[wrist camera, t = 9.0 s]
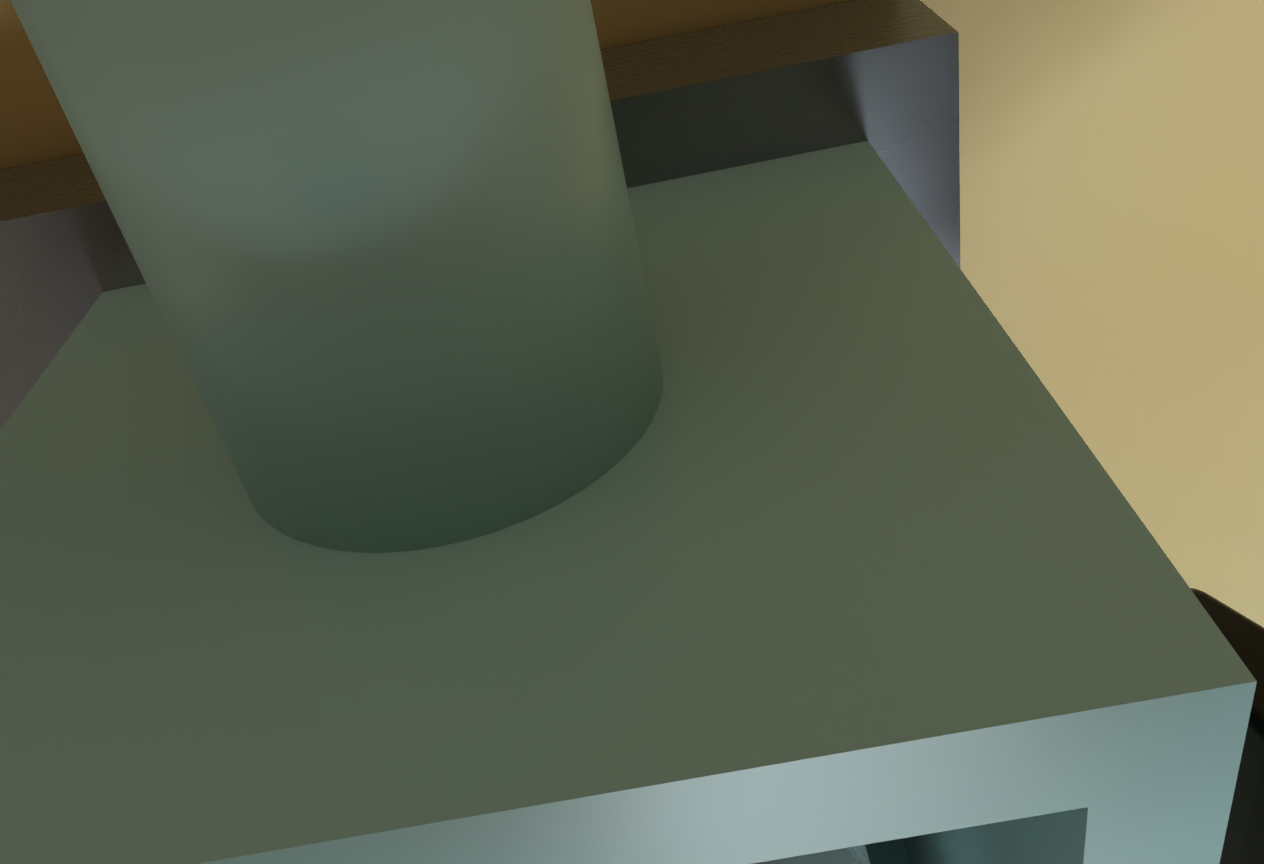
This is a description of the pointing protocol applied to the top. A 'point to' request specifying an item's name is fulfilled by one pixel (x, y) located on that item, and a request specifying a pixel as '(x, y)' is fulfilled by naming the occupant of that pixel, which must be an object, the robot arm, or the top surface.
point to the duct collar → (551, 492)
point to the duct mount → (648, 142)
